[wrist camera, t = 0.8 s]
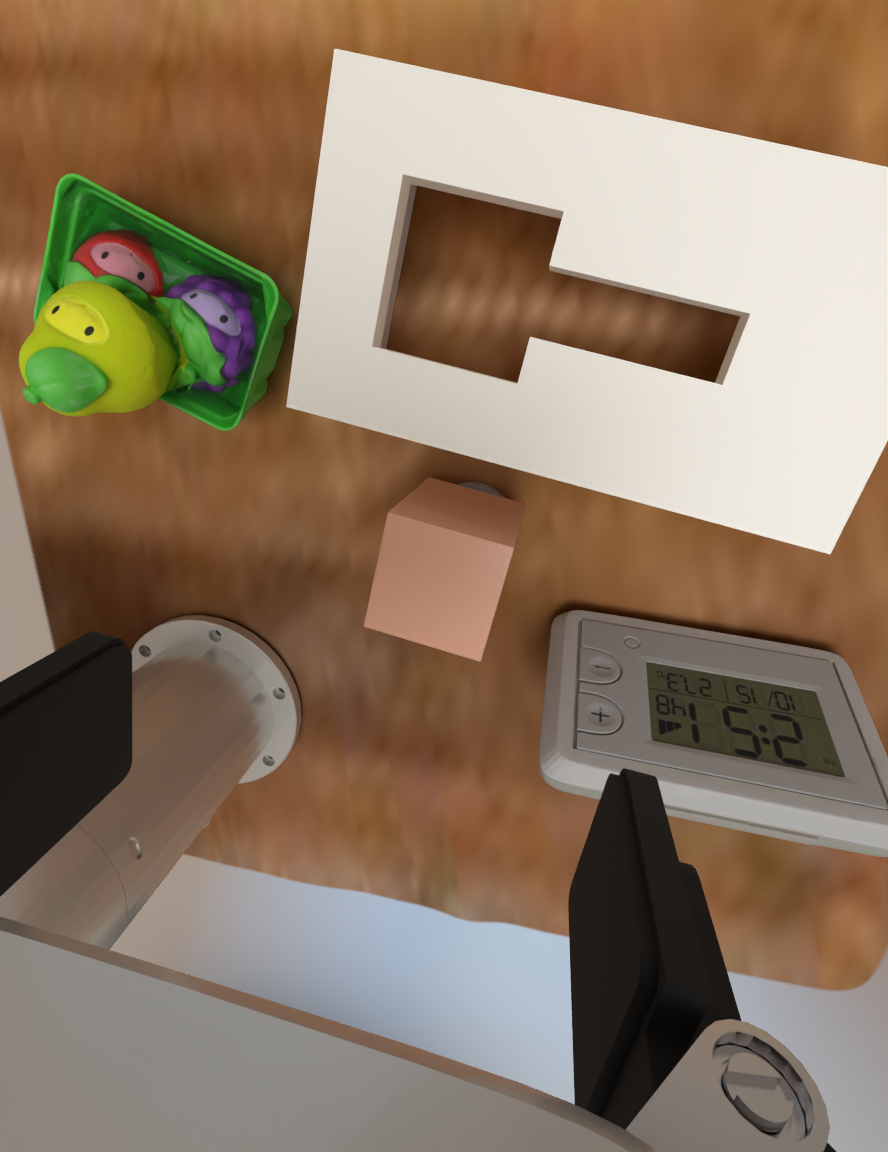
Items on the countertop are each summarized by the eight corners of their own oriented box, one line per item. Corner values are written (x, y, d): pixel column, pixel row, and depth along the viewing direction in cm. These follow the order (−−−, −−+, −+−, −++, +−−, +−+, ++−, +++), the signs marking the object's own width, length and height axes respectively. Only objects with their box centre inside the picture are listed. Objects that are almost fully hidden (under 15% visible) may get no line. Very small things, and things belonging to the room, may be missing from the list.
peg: (503, 573, 35) (480, 661, 24) (421, 549, 35) (363, 626, 25) (527, 491, 33) (514, 548, 22) (440, 467, 33) (387, 512, 23)
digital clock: (859, 656, 33) (992, 781, 23) (776, 781, 36) (860, 938, 26) (577, 555, 34) (586, 632, 24) (522, 685, 37) (509, 802, 27)
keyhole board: (756, 504, 31) (830, 554, 22) (355, 397, 33) (286, 406, 24) (868, 249, 27) (1012, 194, 18) (400, 142, 28) (334, 48, 20)
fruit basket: (325, 295, 31) (208, 258, 21) (270, 447, 35) (145, 481, 24) (134, 195, 31) (-78, 108, 21) (97, 356, 35) (-102, 350, 24)
